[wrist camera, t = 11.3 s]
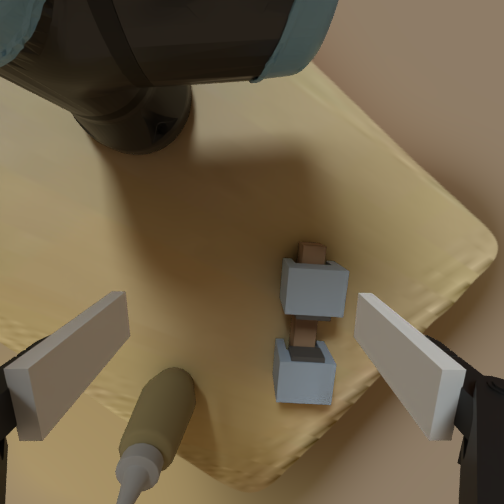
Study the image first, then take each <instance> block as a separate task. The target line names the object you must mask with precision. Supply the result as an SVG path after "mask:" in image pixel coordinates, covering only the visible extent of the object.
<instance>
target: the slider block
mask: <svg viewBox="0 0 504 504" xmlns="http://www.w3.org/2000/svg"><path fill="white" fill-rule="evenodd" d="M335 371H336V363H335V361H334V359H333V357H332V356H331V354H330V352H329V350H328V348H327V346H326V344H325V343H324V341H316V344H315V347H300V346H289V350H286V347H285V343H284V339H278V338H276V340H275V351H274V363H273V381H274V389H275V396H276V402H284V403H303V404H322V405H331V401H332V393H333V386H334V379H335Z"/></svg>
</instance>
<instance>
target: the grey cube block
mask: <svg viewBox="0 0 504 504" xmlns="http://www.w3.org/2000/svg"><path fill="white" fill-rule="evenodd" d="M348 278H349V271H348V270H347V269H345V268H344V267H342V266H341V265H339V264H338V263H336V262H335V261H326V263H325V265H320V264H304V263H295V262H294V261H293V260H292V259H291V258H283V265H282V276H281V287H280V300H281V303H282V307H283V310H284V313H285V314H293V315H294V316H295V318H296V319H300V320H317V321H330V319H331V317H343V315H344V308H345V300H346V293H347V286H348Z"/></svg>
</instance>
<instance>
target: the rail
mask: <svg viewBox="0 0 504 504" xmlns="http://www.w3.org/2000/svg"><path fill="white" fill-rule="evenodd" d="M325 255H326V246H324V245H322V244H320V243H310V242H299V246H298V256H297V263H304V264H320V265H324V264H325ZM317 323H318V321H317V320H300V319H296V318H295V316H294V315H293V314H292V317H291V327H290V337H289V346H300V347H315V340H316V331H317ZM288 350H289V348H288Z"/></svg>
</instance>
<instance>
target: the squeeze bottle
mask: <svg viewBox="0 0 504 504" xmlns="http://www.w3.org/2000/svg"><path fill="white" fill-rule="evenodd" d="M195 404H196V399H195V393H194V386H193V379H192V378H191V376H190V375H189V373H187V372H186V371H184V370H183V369H179V368H168V369H166V370H164V371H162V372H161V373H159V374H158V375H157V376H155V377H154V378H153V379H151V380H150V381H149V382H148V383H147V384H146V385H145V387H144V388H143V389H142V392H141V394H140V396H139V399H138V401H137V403H136V406H135V408H134V410H133V413H132V415H131V418H130V420H129V422H128V425H127V427H126V429H125V432H124V434H123V436H122V439H121V442H120V446H119V453H120V457H121V458H120V460H119V462H118V464H117V468H116V471H115V472H116V477H117V480H118V481H119V482H120V483H121V488H120V492H119V496H118V500H117V504H134V503H135V501H136V500H137V498H138V497H139V495H140V493H141V492H142V491H146V490H148V489H150V488H152V487H153V486H154V485H155V484H156V483H157V482H158V479H159V476H160V473H161V471H163V470H165V469H166V468H167V467H168V466H169V465H170V464H171V463H172V461H173V459H174V457H175V454H176V452H177V449H178V447H179V445H180V442H181V440H182V437H183V435H184V432H185V430H186V428H187V425H188V423H189V420H190V418H191V416H192V413H193V410H194V407H195Z"/></svg>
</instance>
